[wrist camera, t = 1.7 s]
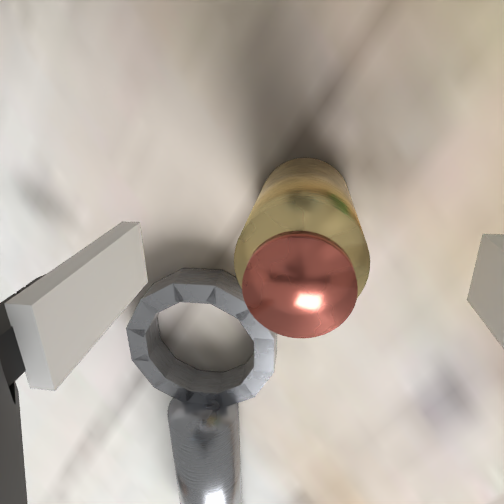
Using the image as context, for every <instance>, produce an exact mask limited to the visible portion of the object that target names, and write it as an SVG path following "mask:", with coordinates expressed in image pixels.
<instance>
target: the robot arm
mask: <svg viewBox="0 0 504 504" xmlns="http://www.w3.org/2000/svg"><path fill="white" fill-rule="evenodd" d="M147 283H148V278H147V271H146V263H145V256H144V249H143V241H142V234H141V226H140V222H121V223H120V224H118V225H117V226H115V227H114V228H112V229H111V230H110V231H108V232H107V233H105V234H104V235H102V236H101V237H99V238H98V239H97V240H95V241H94V242H92V243H91V244H89V245H88V246H86V247H85V248H84V249H82V250H81V251H79V252H78V253H76V254H75V255H73V256H72V257H71V258H69V259H68V260H66V261H65V262H63V263H62V264H60V265H59V266H58V267H56V268H55V269H53V270H52V271H50V272H49V273H47V274H45V275H43V276H41V277H38V278H36V279H35V280H33V281H32V282H30V283H29V284H28V285H26V287H23V288H22V289H20V290H19V291H17V293H16V294H15V293H14V294H13V295H11V296H10V297H8V298H7V299H6V300H4V301H3V302H1V303H0V504H27V492H26V480H25V468H24V455H23V443H22V431H21V418H20V406H19V394H18V389H17V386H16V383H15V381H16V380H17V379H18V378H19V377H20V376H21V375H22V374H23V373H24V372H25V373H26V376H27V380H28V383H29V386H30V388H32V389H41V390H51V391H55V390H56V389H57V388H58V387H59V386H60V385H61V383H62V382H63V381H64V380H65V379H66V378H67V376H68V375H69V374H70V373H71V372H72V370H73V369H74V368H75V367H76V366H77V365H78V363H79V362H80V361H81V360H82V359H83V358H84V356H85V355H86V354H87V353H88V352H89V351H90V349H91V348H92V347H93V346H94V345H95V344H96V342H97V341H98V340H99V339H100V338H101V337H102V335H103V334H104V333H105V332H106V331H107V329H108V328H109V327H110V326H111V325H112V324H113V322H114V321H115V320H116V319H117V318H118V317H119V315H120V314H121V313H122V312H123V311H124V310H125V308H126V307H127V306H128V305H129V304H130V303H131V301H132V300H133V299H134V298H135V297H136V296H137V294H138V293H139V292H140V291H141V290H142V288H143V287H144V286H145V285H146V284H147ZM467 301H468V302H469V303H470V305H471V306H472V307H473V309H474V310H475V311H476V313H477V314H478V315H479V317H480V318H481V319H482V321H483V322H484V323H485V325H486V326H487V327H488V329H489V330H490V331H491V333H492V334H493V335H494V337H495V338H496V339H497V341H498V342H499V343H500V345H501V346H502V347H503V349H504V235H503V234H482V238H481V242H480V247H479V251H478V255H477V259H476V264H475V268H474V272H473V276H472V280H471V285H470V289H469V293H468V297H467Z"/></svg>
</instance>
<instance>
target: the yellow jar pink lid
mask: <svg viewBox="0 0 504 504" xmlns="http://www.w3.org/2000/svg"><path fill="white" fill-rule="evenodd" d="M234 267H235V273H236V277H237V280H238V282H239V285H240V287H241V288H242V293H243V298H244V301H245V304H246V306H247V308H248V310H249V311H250V313H251V314H252V315H253V317H254V318H255V319H256V320H257V321H258V322H259V323H260V324H262V325H263V326H264V327H266V328H267V329H269V330H271V331H273V332H275V333H277V334H280V335H283V336H287V337H292V338H312V337H317V336H320V335H323V334H326V333H328V332H330V331H332V330H334V329H335V328H337V327H338V326H340V325H341V324H342V323H343V322H344V321H345V320H346V319H347V318H348V316H349V315H350V314H351V312H352V310H353V308H354V306H355V303H356V300H357V298H358V296H359V295H360V293H361V292H362V290H363V288H364V286H365V284H366V281H367V279H368V275H369V270H370V256H369V250H368V247H367V243H366V240H365V237H364V234H363V231H362V229H361V226H360V223H359V220H358V217H357V214H356V211H355V208H354V205H353V202H352V199H351V196H350V193H349V190H348V188H347V185H346V183H345V180H344V179H343V177H342V176H341V174H340V173H339V172H338V171H337V170H336V169H335V168H334V167H332V166H331V165H330V164H328V163H326V162H324V161H321V160H318V159H314V158H297V159H293V160H290V161H287V162H285V163H283V164H281V165H280V166H278V167H277V168H276V169H275V170H274V171H273V172H272V173H271V174H270V175H269V177H268V178H267V180H266V182H265V184H264V186H263V188H262V190H261V192H260V194H259V196H258V198H257V200H256V203H255V205H254V207H253V209H252V211H251V213H250V215H249V218H248V220H247V222H246V224H245V226H244V228H243V230H242V232H241V235H240V237H239V239H238V241H237V244H236V248H235V253H234Z"/></svg>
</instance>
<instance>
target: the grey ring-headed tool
mask: <svg viewBox="0 0 504 504" xmlns="http://www.w3.org/2000/svg"><path fill="white" fill-rule="evenodd" d="M179 302H190V303H206V304H212V305H214V306H216V307H217V308H219V309H221V310H223V311H225V312H226V313H228V314H230V315H232V316H234V317H235V318H237V319H239V321H240V322H241V324H242V325H243V327H244V328H245V330H246V331H247V333H248V334H249V336H250V337H251V339H252V340H253V342H254V353H253V355H252V356H251V357H250V359H249V360H248V361H247V363H246V364H244V365H242V366H239V367H237V368H234V369H231V370H229V371H226V372H224V373H223V372H212V371H201V370H197V369H195V368H193V367H191V366H189V365H187V364H185V363H184V362H182V361H180V360H178V359H176V358H175V357H174V356H173V354H172V353H171V352H170V351H169V349H168V348H167V347H166V345H165V344H164V343H163V341H162V340H161V339H160V333H159V326H158V318H157V315H158V314H159V312H160V311H162V310H164V309H166V308H169V307H171V306H173V305H175V304H177V303H179ZM126 330H127V336H128V341H129V347H130V352H131V358H132V361H133V362H134V363H135V364H136V366H137V367H138V368H139V369H140V371H141V372H142V373H143V374H144V376H145V377H146V378H147V379H148V380H149V382H150V383H151V384H152V385H153V387H154V388H156V389H158V390H160V391H162V392H164V393H166V394H168V395H170V396H172V397H174V398H173V399H172V400H171V402H170V404H169V407H168V421H169V428H170V435H171V442H172V449H173V456H174V463H175V470H176V477H177V484H178V491H179V498H180V504H242V486H241V461H240V437H239V412H238V403H239V402H242V401H244V400H247V399H250V398H253V397H255V396H256V394H257V393H258V392H259V391H260V389H261V388H262V387H263V386H264V384H265V383H266V382H267V381H268V379H269V378H270V377H271V376H272V374H273V373H274V368H275V360H276V353H277V333H275V332H273V331H271V330H269V329H267V328H266V327H264V326H263V325H262V324H260V323H259V322H258V321H257V320H256V319H255V318H254V317H253V315H252V314H251V313H250V311H249V310H248V308H247V306H246V304H245V301H244V298H243V293H242V288H241V287H240V285H239V282H238V280H237V278H236V277H234V276H232V275H231V274H229V273H227V272H225V271H223V270H212V269H193V268H183V269H181V270H179V271H177V272H175V273H173V274H171V275H169V276H167V277H165V278H163V279H161V280H159V281H157V282H155V283H153V285H152V286H151V287H150V288H149V290H148V291H147V292H146V293H145V295H144V296H143V297H142V298H141V300H140V302H139V304H138V306H137V308H136V310H135V312H134V314H133V316H132V318H131V320H130V322H129V324H128V326H127V328H126Z"/></svg>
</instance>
